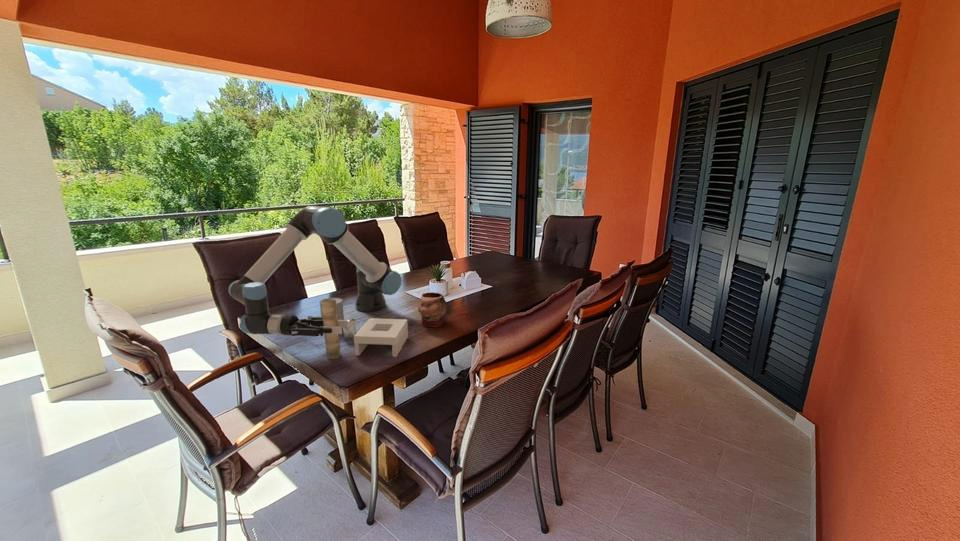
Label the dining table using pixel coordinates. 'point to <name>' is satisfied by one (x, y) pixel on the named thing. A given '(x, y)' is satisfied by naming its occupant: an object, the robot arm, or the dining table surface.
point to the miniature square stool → (382, 334)
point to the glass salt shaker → (349, 330)
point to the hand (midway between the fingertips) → (344, 327)
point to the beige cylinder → (339, 308)
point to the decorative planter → (432, 309)
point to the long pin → (331, 320)
